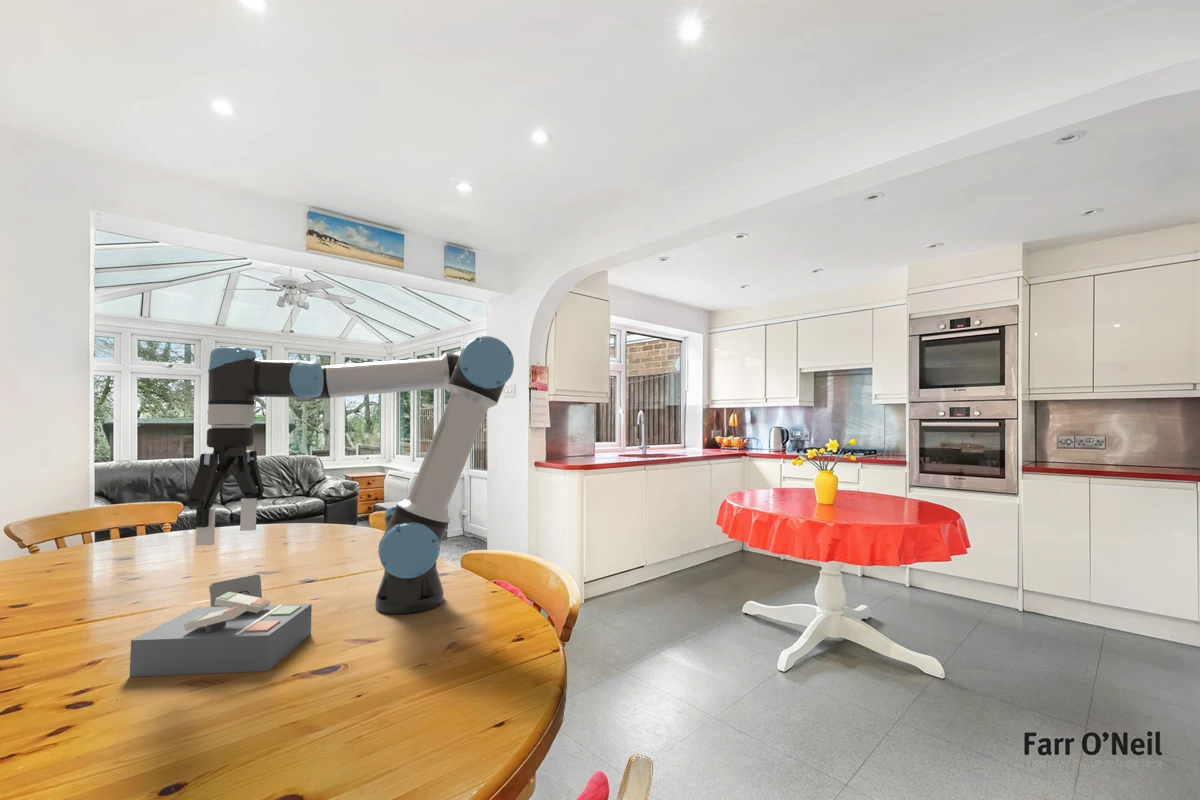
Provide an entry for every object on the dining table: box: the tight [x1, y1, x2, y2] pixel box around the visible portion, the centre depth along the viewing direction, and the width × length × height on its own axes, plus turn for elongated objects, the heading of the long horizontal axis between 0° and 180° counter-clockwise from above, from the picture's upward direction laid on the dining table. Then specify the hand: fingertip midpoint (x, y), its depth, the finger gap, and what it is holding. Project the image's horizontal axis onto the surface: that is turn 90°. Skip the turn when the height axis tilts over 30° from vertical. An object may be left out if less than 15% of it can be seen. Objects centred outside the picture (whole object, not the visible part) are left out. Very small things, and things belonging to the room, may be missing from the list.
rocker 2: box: [214, 592, 271, 613], centre depth 101 cm, size 8×4×1 cm, turn 95°
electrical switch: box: [208, 574, 263, 607], centre depth 113 cm, size 9×5×9 cm, turn 141°
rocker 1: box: [184, 604, 247, 631], centre depth 93 cm, size 8×4×1 cm, turn 96°
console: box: [129, 603, 313, 678], centre depth 96 cm, size 22×16×7 cm
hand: (227, 537), depth 101 cm, fingers open, 12 cm apart
